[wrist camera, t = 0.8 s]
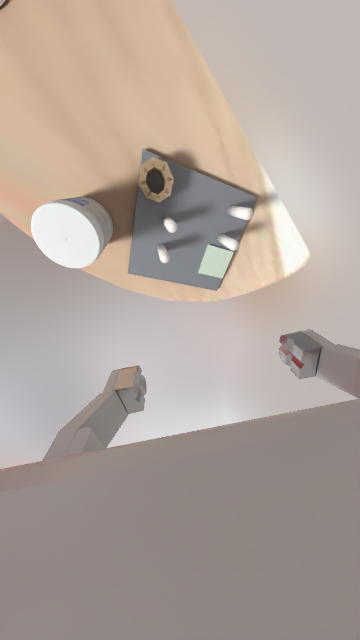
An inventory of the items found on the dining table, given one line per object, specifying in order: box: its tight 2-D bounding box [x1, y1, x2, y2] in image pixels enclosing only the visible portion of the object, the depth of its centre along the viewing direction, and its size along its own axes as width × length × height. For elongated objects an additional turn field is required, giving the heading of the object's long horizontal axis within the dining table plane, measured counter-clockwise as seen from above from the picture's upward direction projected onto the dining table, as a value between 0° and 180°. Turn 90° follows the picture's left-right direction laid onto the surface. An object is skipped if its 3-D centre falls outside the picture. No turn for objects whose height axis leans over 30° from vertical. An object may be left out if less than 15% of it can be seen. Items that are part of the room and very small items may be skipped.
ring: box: [139, 157, 174, 202], centre depth 33 cm, size 6×6×4 cm
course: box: [128, 149, 257, 291], centre depth 39 cm, size 24×26×9 cm
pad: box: [198, 244, 234, 278], centre depth 46 cm, size 8×8×1 cm
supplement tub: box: [31, 197, 113, 268], centre depth 32 cm, size 10×10×15 cm
